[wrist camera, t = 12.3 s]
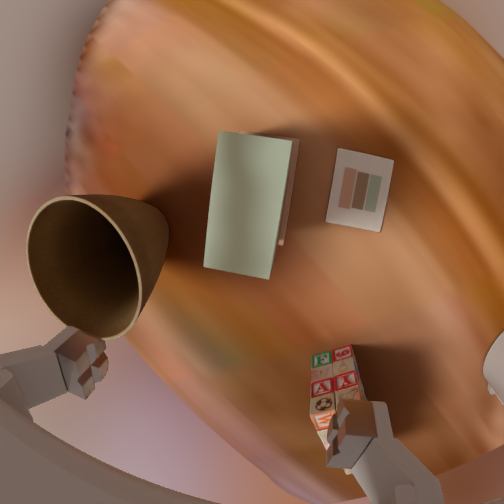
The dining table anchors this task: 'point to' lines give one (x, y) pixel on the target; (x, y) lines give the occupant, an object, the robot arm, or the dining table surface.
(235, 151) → the brick sage
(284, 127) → the dining table surface
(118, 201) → the plant pot
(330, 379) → the stack of blocks
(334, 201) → the page
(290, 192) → the base brick
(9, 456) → the robot arm
